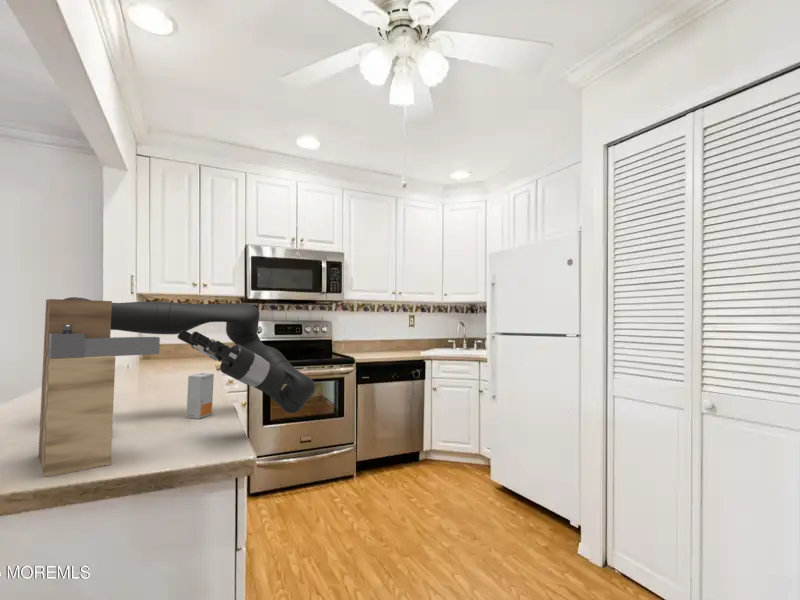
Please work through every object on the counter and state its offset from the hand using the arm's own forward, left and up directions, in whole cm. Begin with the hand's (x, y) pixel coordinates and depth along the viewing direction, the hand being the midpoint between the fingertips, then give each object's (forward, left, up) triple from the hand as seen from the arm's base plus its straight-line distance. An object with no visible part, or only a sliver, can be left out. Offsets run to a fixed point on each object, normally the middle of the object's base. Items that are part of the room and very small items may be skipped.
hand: (185, 334), depth 96 cm
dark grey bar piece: (0, -15, -4) cm, 15 cm away
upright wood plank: (-5, -19, -25) cm, 32 cm away
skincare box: (-27, +13, -25) cm, 39 cm away
